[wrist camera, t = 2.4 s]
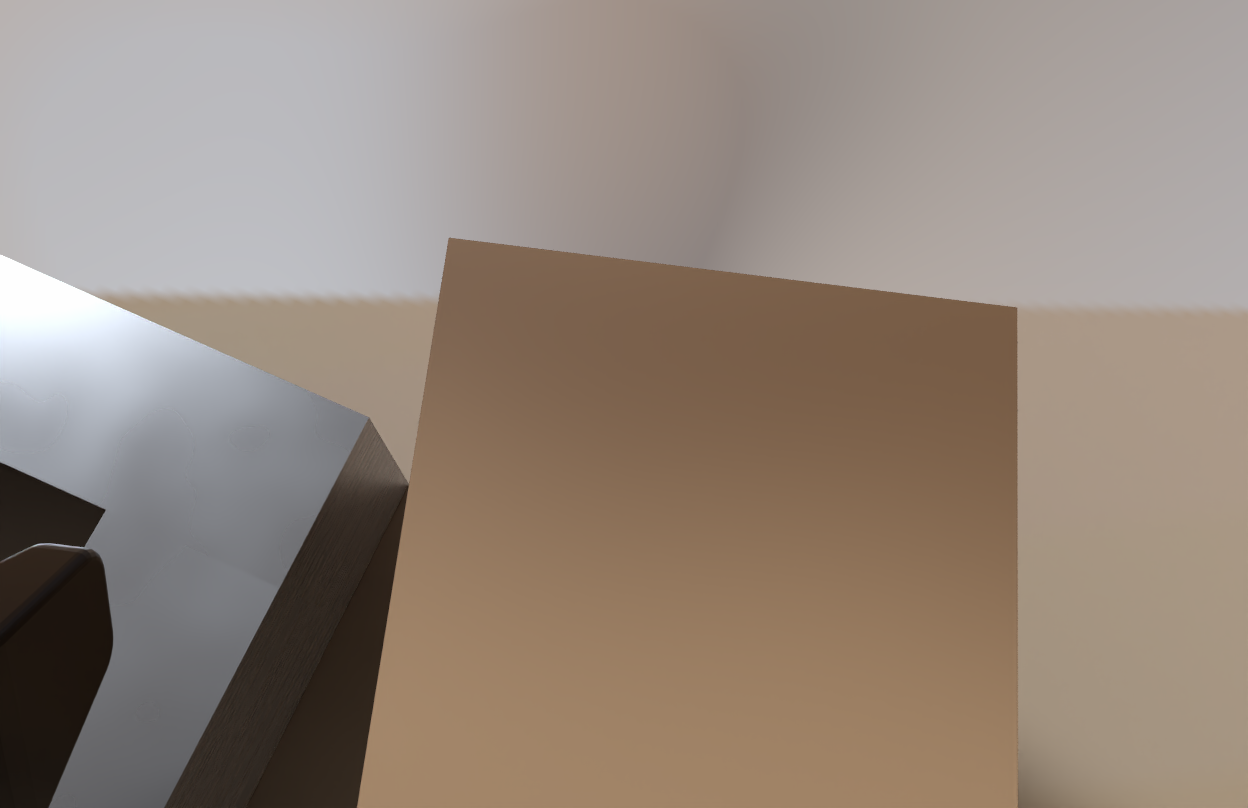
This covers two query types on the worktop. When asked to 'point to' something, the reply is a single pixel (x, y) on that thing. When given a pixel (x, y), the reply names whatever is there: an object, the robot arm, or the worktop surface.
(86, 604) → the robot arm
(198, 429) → the well block
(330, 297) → the worktop surface
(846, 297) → the brown tall square block
